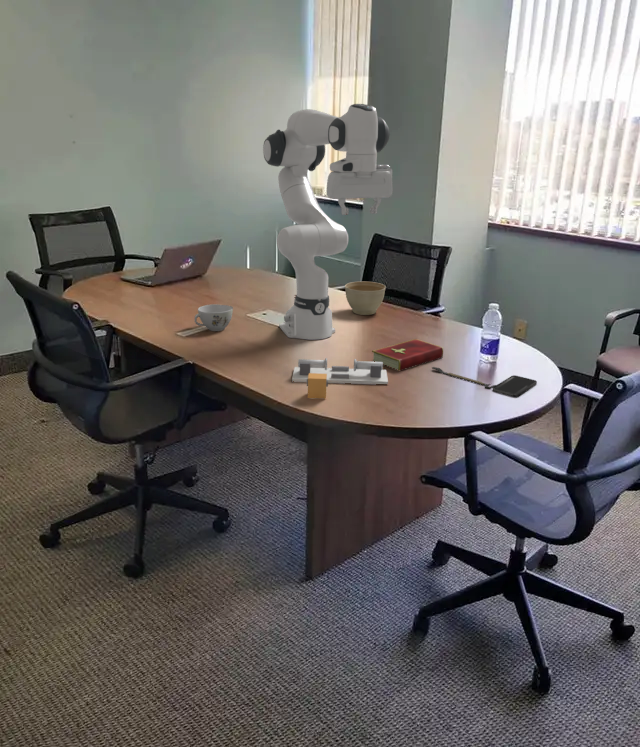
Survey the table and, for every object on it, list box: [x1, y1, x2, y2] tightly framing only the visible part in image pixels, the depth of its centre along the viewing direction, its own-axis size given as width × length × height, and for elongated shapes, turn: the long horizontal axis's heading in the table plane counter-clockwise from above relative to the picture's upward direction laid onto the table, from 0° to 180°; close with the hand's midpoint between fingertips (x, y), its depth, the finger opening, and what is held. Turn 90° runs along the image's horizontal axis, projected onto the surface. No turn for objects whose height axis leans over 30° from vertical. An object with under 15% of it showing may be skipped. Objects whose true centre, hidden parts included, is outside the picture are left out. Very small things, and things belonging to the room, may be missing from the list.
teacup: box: [194, 303, 234, 332], centre depth 241 cm, size 15×12×8 cm
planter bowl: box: [344, 280, 386, 316], centre depth 267 cm, size 16×16×11 cm
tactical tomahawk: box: [431, 366, 497, 390], centre depth 201 cm, size 21×7×1 cm, turn 45°
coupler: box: [306, 373, 329, 399], centre depth 184 cm, size 6×4×6 cm
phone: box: [492, 374, 538, 398], centre depth 194 cm, size 8×1×15 cm
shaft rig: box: [291, 357, 389, 385], centre depth 198 cm, size 28×10×6 cm, turn 88°
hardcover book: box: [371, 338, 444, 371], centre depth 215 cm, size 12×21×4 cm, turn 131°
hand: (359, 214), depth 196 cm, fingers open, 8 cm apart
